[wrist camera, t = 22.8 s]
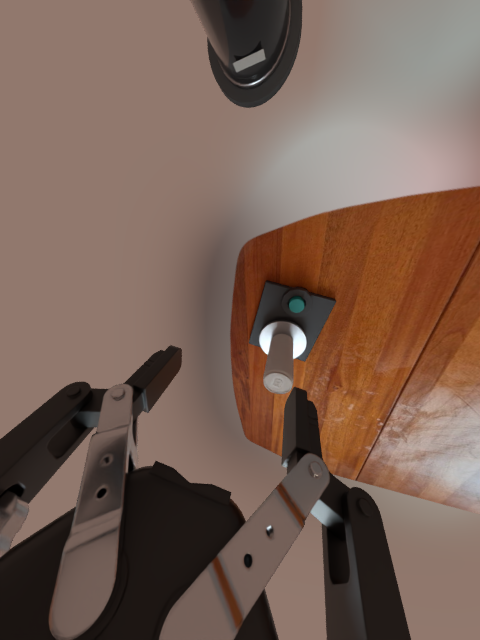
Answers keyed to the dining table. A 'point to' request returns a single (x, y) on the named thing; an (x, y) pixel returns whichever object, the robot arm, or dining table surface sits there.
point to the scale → (277, 308)
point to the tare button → (296, 304)
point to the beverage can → (279, 365)
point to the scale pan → (283, 328)
